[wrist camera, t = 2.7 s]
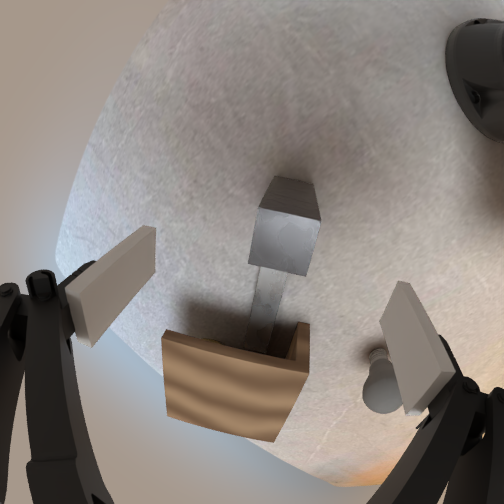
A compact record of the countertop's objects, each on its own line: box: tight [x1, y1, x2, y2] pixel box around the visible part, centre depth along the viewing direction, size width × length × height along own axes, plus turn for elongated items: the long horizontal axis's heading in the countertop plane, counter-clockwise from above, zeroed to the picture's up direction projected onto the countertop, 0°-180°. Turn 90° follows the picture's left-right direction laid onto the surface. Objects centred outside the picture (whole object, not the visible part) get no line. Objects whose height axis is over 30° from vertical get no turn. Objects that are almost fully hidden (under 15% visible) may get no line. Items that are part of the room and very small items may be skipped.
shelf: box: [161, 322, 310, 443], centre depth 36 cm, size 17×16×8 cm
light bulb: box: [363, 349, 403, 414], centre depth 31 cm, size 6×6×10 cm
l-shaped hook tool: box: [244, 176, 321, 353], centre depth 28 cm, size 22×4×12 cm, turn 170°
